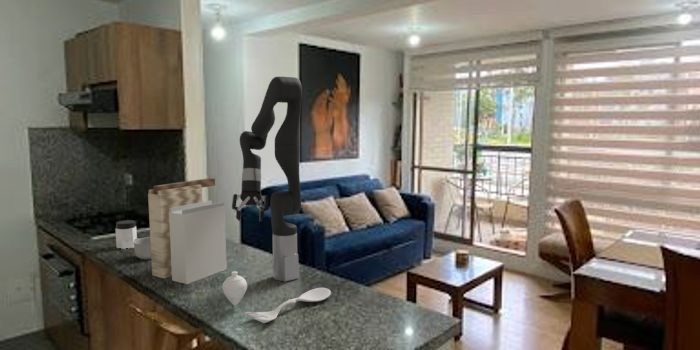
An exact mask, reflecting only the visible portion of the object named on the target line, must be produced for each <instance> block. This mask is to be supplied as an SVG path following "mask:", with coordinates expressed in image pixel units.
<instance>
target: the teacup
mask: <svg viewBox="0 0 700 350" xmlns="http://www.w3.org/2000/svg"><path fill="white" fill-rule="evenodd" d="M133 244H134V248H133V251H134V255H135V256H136V257H137V259H138V258H139V259H141V260H143V259H144V260H151V241H150V236H147V237H142V238H141V237H140V238H138V237H137V239H135V240H134V242H133Z"/></svg>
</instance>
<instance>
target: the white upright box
mask: <svg viewBox="0 0 700 350" xmlns="http://www.w3.org/2000/svg"><path fill="white" fill-rule="evenodd" d="M169 223H170V244H171V266H172V276H171V281H172V282H173V281H174V282H177V283H182V284H184V285H189V284H191V283H194V282H196V281H199V280H202V279H204V278H207V277H210V276H212V275H214V274H218V273H221V272H222V271H223V272H224V271H226V270H227V269H228V265H227V264H228V263H227V238H226V232H227V231H226V207H225V201H220V202H215V203H213V200H205V201H203V202H199V203H194V204H189V205H184V206H179V207H174V208H169Z"/></svg>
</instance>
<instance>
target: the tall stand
mask: <svg viewBox="0 0 700 350" xmlns="http://www.w3.org/2000/svg"><path fill="white" fill-rule="evenodd" d="M147 197H148V198H147V199H148V214H149V215H148V218H149V237H150V241H151V259H150V260H151V275H152V276H154V277H158V278H161V279H166V278H170V277H172V266H171V244H170V223H169V208H174V207H179V206H184V205H189V204H194V203H199V202H204V201H203V188H201V185H194V186H187V187H181V188H174V189H168V190H161V191H158V194H154V188H153V189H152V188H151V189H148V195H147Z"/></svg>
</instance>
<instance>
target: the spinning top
mask: <svg viewBox="0 0 700 350" xmlns="http://www.w3.org/2000/svg"><path fill="white" fill-rule="evenodd" d="M238 273H239V272H238V271H236V270H235V271H234V270H233V271H231V275H230V276H228V277H226V278H225V280H224V281H223V283H222V286H221V288H222V292H223V293H224V296H225V297H226V298H227V299H228V301H229V302H230V303H231V304H232V305H233V306H234V309H237V306H238V305H239V303H240V302H241V301H242V299H243V297H244V296H245V294H246V291H247V289H248V283H247V281H246V279H245V278H244V277H243V276H242V275H238Z"/></svg>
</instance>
